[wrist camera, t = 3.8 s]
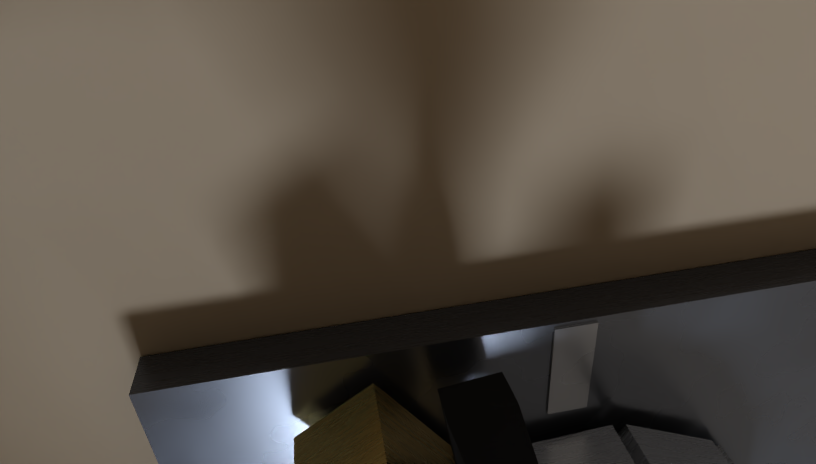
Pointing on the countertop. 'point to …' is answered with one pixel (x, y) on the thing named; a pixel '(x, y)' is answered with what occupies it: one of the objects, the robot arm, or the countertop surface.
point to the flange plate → (524, 367)
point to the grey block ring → (433, 458)
